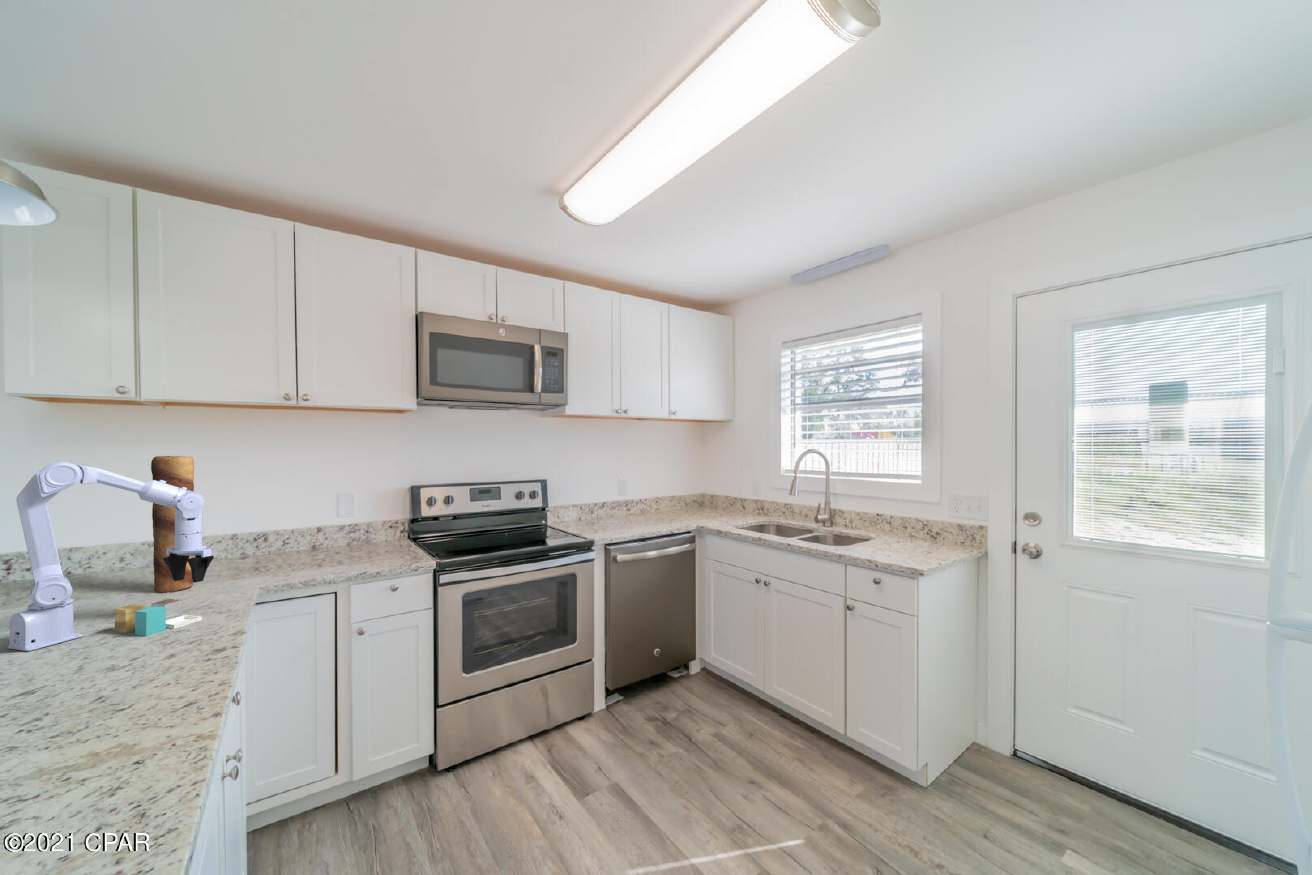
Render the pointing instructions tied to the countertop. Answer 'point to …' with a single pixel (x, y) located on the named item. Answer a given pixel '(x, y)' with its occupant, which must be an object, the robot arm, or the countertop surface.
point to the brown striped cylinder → (169, 520)
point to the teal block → (150, 621)
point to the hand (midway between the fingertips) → (188, 580)
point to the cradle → (182, 621)
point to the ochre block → (126, 618)
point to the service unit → (170, 607)
